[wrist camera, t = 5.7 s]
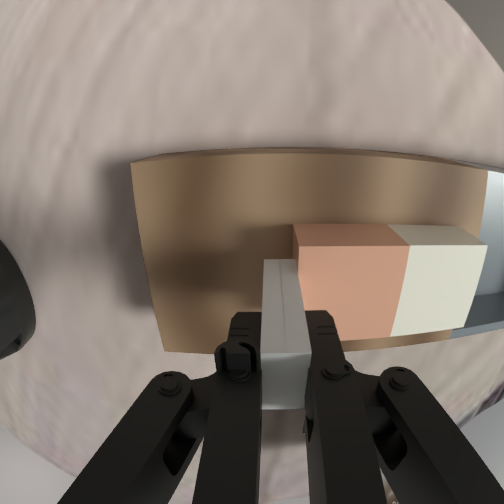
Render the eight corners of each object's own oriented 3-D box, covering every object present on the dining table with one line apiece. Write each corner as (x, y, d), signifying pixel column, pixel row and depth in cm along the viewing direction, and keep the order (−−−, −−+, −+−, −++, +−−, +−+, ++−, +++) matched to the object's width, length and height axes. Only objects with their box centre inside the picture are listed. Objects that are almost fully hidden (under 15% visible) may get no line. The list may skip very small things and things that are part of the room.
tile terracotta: (290, 308, 17) (294, 342, 14) (293, 223, 15) (299, 246, 12) (373, 305, 17) (389, 337, 14) (386, 224, 15) (410, 246, 12)
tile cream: (373, 305, 17) (389, 336, 14) (386, 224, 15) (409, 245, 12) (441, 300, 16) (463, 327, 14) (458, 226, 14) (488, 245, 12)
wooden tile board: (181, 310, 23) (164, 351, 19) (161, 154, 19) (130, 163, 14) (423, 303, 22) (448, 339, 18) (447, 158, 18) (488, 170, 13)
